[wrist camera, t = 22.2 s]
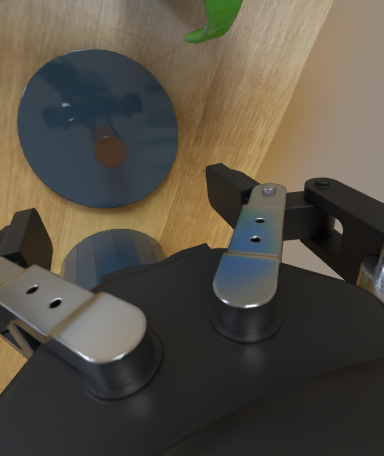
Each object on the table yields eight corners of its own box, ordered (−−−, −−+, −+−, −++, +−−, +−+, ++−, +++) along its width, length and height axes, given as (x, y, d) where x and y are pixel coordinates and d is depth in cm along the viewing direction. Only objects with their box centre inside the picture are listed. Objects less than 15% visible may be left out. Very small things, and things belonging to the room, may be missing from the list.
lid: (-13, 62, 21) (-41, 61, 16) (161, 39, 25) (183, 32, 19) (55, 218, 29) (50, 251, 24) (183, 185, 32) (203, 208, 27)
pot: (41, 247, 30) (28, 316, 21) (157, 215, 32) (184, 266, 24) (81, 326, 36) (82, 402, 28) (174, 294, 39) (200, 354, 31)
